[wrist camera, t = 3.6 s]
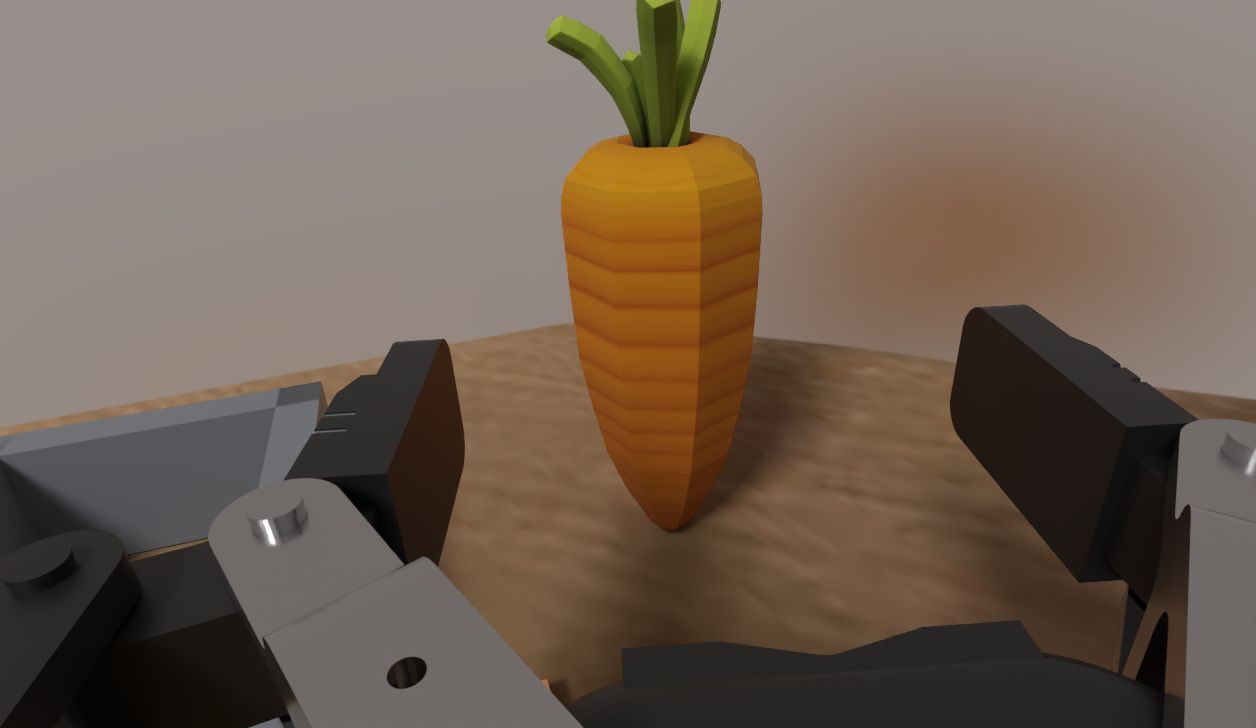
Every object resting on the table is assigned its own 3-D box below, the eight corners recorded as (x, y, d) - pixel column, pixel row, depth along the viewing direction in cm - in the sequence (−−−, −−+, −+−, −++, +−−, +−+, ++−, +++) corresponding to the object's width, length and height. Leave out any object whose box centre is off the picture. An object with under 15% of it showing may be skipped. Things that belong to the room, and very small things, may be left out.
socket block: (486, 458, 26) (470, 356, 24) (653, 1089, 11) (643, 944, 9) (24, 553, 23) (-36, 442, 21) (-663, 1675, 7) (-1101, 1627, 6)
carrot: (714, 612, 19) (722, -51, 12) (555, 554, 21) (487, -35, 15) (778, 504, 23) (810, -49, 16) (636, 464, 25) (613, -36, 18)
